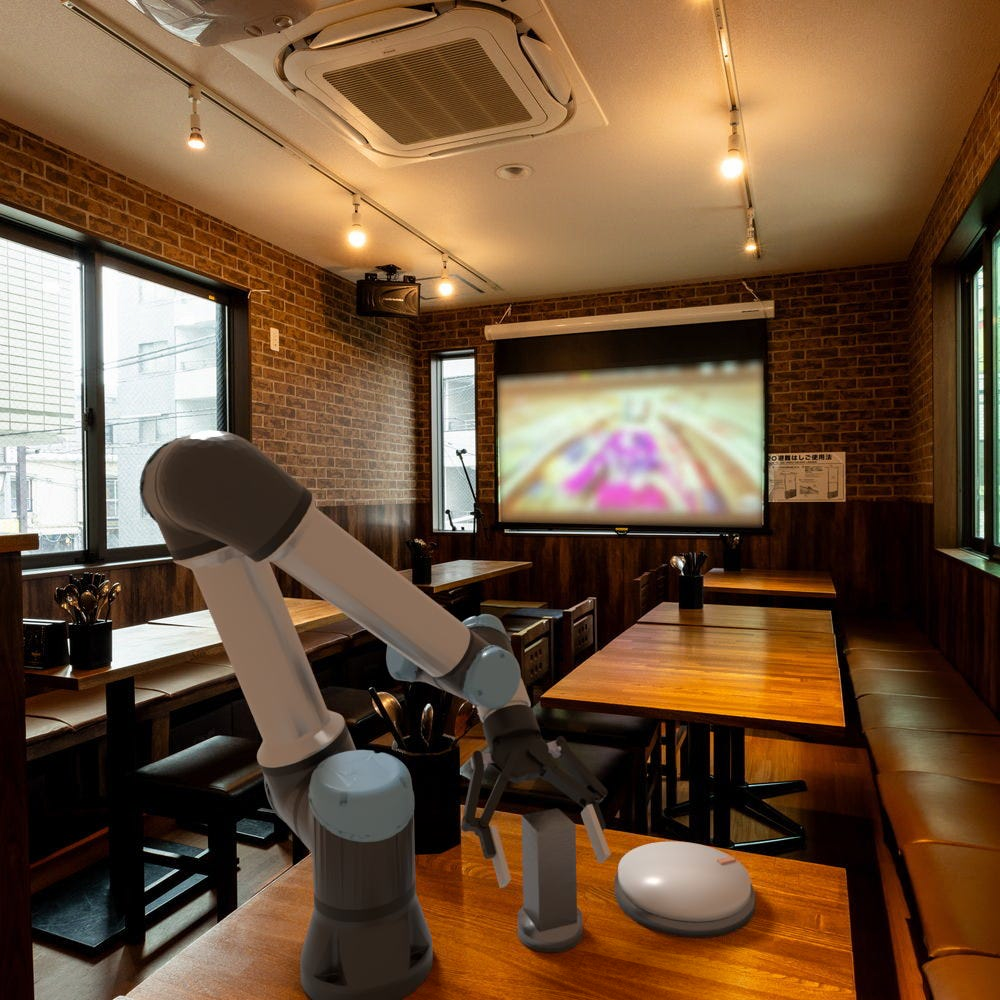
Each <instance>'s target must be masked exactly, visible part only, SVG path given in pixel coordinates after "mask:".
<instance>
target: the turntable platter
mask: <svg viewBox="0 0 1000 1000" xmlns="http://www.w3.org/2000/svg"><path fill="white" fill-rule="evenodd" d="M617 872H618V881H619V886H620V889H621V891H622V892H623V894H624V895H625V896H626V897H627V898H628V899H629V900H630V901H631V902H632V903H634V904H635V905H637V906H638V907H640V908H642V909H644V910H645V911H648V912H650V913H652V914H655V915H658V916H661V917H665V918H669V919H674V920H680V921H689V922H703V921H713V920H719V919H723V918H726V917H729V916H732V915H734V914H736V913H738V912H739V911H741V910H742V909H743V908H744V907H745V906H746V905H747V903H748V902H749V899H750V895H751V885H750V883H751V876H750V874H749V871H748V870H747V869H746V868H745V866H744V865H743V864H742V863H741V862H740V861H739V860H737V859H736V858H735V857H734V856H732V855H729V854H727V853H725V852H723V851H721V850H718V849H717V848H714V847H710V846H707V845H703V844H701V843H700V844H699V843H693V842H688V841H687V842H686V841H659V842H658V841H657V842H652V843H647V844H643V845H640V846H638V847H635V848H633V849H632V850H631V849H630V850H629V851H628V852H627V853H625V854H624V855H623V856H622V858H621V859H620V860H619V863H618V867H617Z"/></svg>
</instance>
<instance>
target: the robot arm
mask: <svg viewBox="0 0 1000 1000" xmlns="http://www.w3.org/2000/svg"><path fill="white" fill-rule="evenodd" d="M139 495H140V500H141V503H142V506H143V508H144V509H145V511H146V513H147V514H149V517H150V518H151V519H152V520H153V521H154V522H155V523H157V525H158V528H159V531H160V533H161V535H162V537H163V540H164V542H165V545H166V547H167V549H168V551H169V553H170V556H171V558H172V561H173V563H175V564H177V565H178V566H183V567H185V568H187V569H190V570H191V571H192V573H193V576H194V578H195V580H196V582H197V585H198V587H199V590H200V593H201V595H202V597H203V599H204V602H205V604H206V607H207V609H208V611H209V613H210V614H209V615H210V616H211V619H212V620H213V623H214V626H215V628H216V630H217V634H218V636H219V637H220V640H221V643H222V645H223V647H224V650H225V653H226V654H227V657H228V659H229V662H230V664H231V667H232V669H233V671H234V674H235V677H236V678H237V680H238V683H239V686H240V688H241V690H242V693H243V696H244V697H245V700H246V703H247V705H248V707H249V709H250V710H249V711H250V712H251V714H252V716H253V719H254V722H255V724H256V727H257V729H258V731H259V734H260V736H261V739H262V743H261V745H260V747H259V749H258V750H257V754H256V759H257V762H258V765H259V767H260V770H261V772H262V774H263V778H264V779H263V783H264V789H265V794H266V797H267V800H268V803H269V805H270V806H271V808H272V811H274V813H275V814H276V816H278V818H280V819H281V820H282V822H284V823H286V825H287V826H288V827H289V828H290V830H292V832H293V833H295V835H296V836H297V837H298V838H299V840H300V841H301V842H302V844H304V846H305V847H306V848H307V849H308V850H309V851H310V855H311V858H312V879H313V880H312V884H313V885H312V886H313V911H312V914H311V918H310V921H309V925H308V927H307V931H306V934H305V935H306V936H305V939H304V942H303V946H302V949H301V953H300V960H299V961H300V962H299V963H300V964H299V965H300V983H301V986H302V988H303V991H304V992H305V993H306V995H307V996H308V997H309V998H310V999H311V1000H402V999H403V998H405V997H407V996H409V995H411V993H413V992H415V991H416V990H417V989H418V988H419V987H420V986H421V985H422V984H423V983H424V982H425V981H426V979H427V977H429V975H430V972H431V970H432V967H433V963H434V962H433V961H434V954H433V951H434V949H433V948H434V947H433V939H432V938H433V937H432V933H431V931H430V928H429V925H428V923H427V920H426V917H425V915H424V912H423V909H422V907H421V906H422V905H421V904H420V901H419V898H418V896H417V890H416V889H417V888H416V857H415V856H416V854H415V853H416V852H415V818H414V817H415V816H414V815H415V812H414V811H415V793H414V790H413V785H412V784H413V783H412V777H411V774H410V772H409V769H408V768H407V766H406V765H405V764H404V763H403V762H402V761H401V760H399V758H397V757H395V756H393V755H391V754H389V753H386V752H379V753H377V752H376V751H374V750H367V749H356V746H355V744H354V741H353V738H352V736H351V733H350V731H349V729H348V727H347V723H346V721H345V719H344V717H343V715H341V714H340V713H338V712H335V711H332V710H330V709H328V708H327V705H326V704H325V701H324V698H323V695H322V694H321V690H320V688H319V686H318V682H317V680H316V678H315V674H314V673H313V670H312V667H311V666H310V662H309V660H308V657H307V655H306V651H305V650H304V647H303V644H302V642H301V639H300V637H299V634H298V632H297V629H296V627H295V624H294V622H293V619H292V617H291V615H290V611H289V609H288V606H287V604H286V602H285V599H284V597H283V594H282V591H281V589H280V586H279V583H278V582H277V578H276V576H275V573H274V570H273V569H272V565H271V563H272V564H273V565H275V566H277V567H278V568H279V569H281V571H284V572H285V573H287V574H288V575H289V576H290V577H292V578H293V579H295V580H296V581H297V582H299V583H300V584H302V585H303V586H305V587H306V588H307V589H309V590H311V591H312V592H313V593H315V594H316V595H317V596H319V597H320V598H322V599H323V600H324V601H326V602H327V603H329V604H330V605H331V606H333V607H334V608H335V609H337V610H339V611H340V612H341V613H343V614H344V615H345V616H347V617H348V618H349V619H351V620H352V621H354V622H355V623H357V624H358V625H359V626H361V627H362V628H364V629H365V630H367V631H368V632H369V633H371V634H372V635H374V636H375V637H376V638H378V639H379V640H380V641H382V642H383V643H385V644H386V645H387V646H386V653H385V655H386V656H385V660H386V667H387V669H388V672H389V674H390V676H391V677H392V678H393V679H394V680H397V681H405V682H409V683H414V682H422V683H426V684H429V685H431V686H433V687H435V688H437V689H440V690H442V691H444V692H446V693H450V694H452V695H454V696H456V697H459V698H461V699H463V700H465V701H467V702H469V703H470V704H471V705H473V706H474V707H476V710H477V712H478V713H477V714H478V717H479V719H480V721H481V722H482V726H481V727H482V731H483V734H484V737H485V740H486V743H487V747H488V750H489V753H482V752H481V751H480V750H474V752H473V754H472V755H471V757H470V760H469V763H468V764H469V769H470V779H469V785H468V790H467V794H466V800H465V805H464V810H463V814H462V820H461V824H460V828H461V830H462V831H463V832H464V833H468V832H474V835H475V836H477V837H478V839H479V843H480V847H481V851H482V854H483V857H484V858H485V860H488V859H489V860H490V859H491V860H492V863H493V868H494V871H495V875H496V878H497V882H498V885H499V886H498V887H499V889H503V888H506V887H507V886H508V885H509V883H510V882H511V880H512V877H511V872H510V869H509V866H508V863H507V858H506V856H505V852H504V848H503V844H502V841H501V838H500V833H499V830H498V827H497V824H494V825H490V822H491V820H492V818H493V816H494V814H495V812H496V809H497V806H498V804H499V802H500V800H501V797H502V796H503V793H504V791H505V789H506V786H507V784H508V782H509V781H510V782H513V784H514V785H515V784H520V783H521V782H522V783H523V782H524V781H535V780H536V779H537V778H540V780H542V781H544V782H548V783H550V784H551V785H552V786H554V787H555V788H556V789H557V790H559V791H560V792H562V793H563V794H565V796H567V797H568V798H569V799H571V800H572V801H573V802H575V803H576V804H577V805H579V806H580V807H581V808H583V810H582V811H581V812H580V815H581V819H582V821H583V824H584V827H585V829H586V832H587V836H588V838H589V841H590V844H591V847H592V850H593V852H594V855H595V858H596V861H597V864H602V863H604V862H605V861H606V860H607V859H608V858H609V857H610V856H611V852H610V849H609V846H608V844H607V840H606V838H605V834H604V833H603V832H604V831H605V829H606V826H607V825H606V821H605V819H604V815H603V814H602V811H601V807H600V805H599V804H601V802H602V801H603V800H604V799H605V798H606V797H607V795H608V793H609V791H608V788H606V787H605V786H604V785H603V783H602V782H601V781H600V780H599V779H598V778H597V777H596V776H595V775H594V774H593V773H592V771H591V770H590V769H589V768H588V767H587V766H586V765H585V764H584V763H583V762H582V761H581V759H579V757H578V756H577V755H576V754H575V753H574V752H573V750H571V748H570V746H569V744H568V741H567V740H566V738H565V736H562V735H559V736H557V738H556V740H553V741H550V742H546V741H545V740H544V739H543V738H542V734H541V729H540V727H539V724H538V721H537V718H536V715H535V712H534V710H533V708H532V707H531V706H532V705H531V700H530V697H529V695H528V692H527V688H526V686H525V684H524V680H523V679H522V676H521V672H522V671H521V668H520V664H519V662H518V660H517V658H516V657H515V653H514V651H513V648H512V645H511V640H510V637H509V636H508V634H507V631H506V629H505V627H504V625H503V622H502V621H501V619H499V618H498V617H497V616H495V615H492V614H489V613H488V614H487V613H484V614H483V613H482V614H480V615H478V616H476V615H474V616H470V617H468V618H466V619H464V620H463V621H461V620H459V618H457V617H455V615H453V614H451V613H450V612H449V611H448V610H446V609H445V608H444V607H442V605H440V604H439V603H438V602H436V601H435V600H433V599H432V598H431V597H430V596H428V595H427V594H426V593H424V591H422V590H421V589H420V588H418V587H417V586H416V585H415V584H413V582H411V581H410V580H408V579H407V578H406V577H405V576H403V575H402V574H400V573H399V572H398V571H397V570H396V569H394V568H393V567H392V566H391V565H389V564H388V563H387V562H386V561H384V560H383V559H381V558H380V557H379V556H378V555H376V554H375V553H374V552H373V551H372V550H370V549H369V548H368V547H366V546H365V545H364V544H363V543H362V542H360V541H359V540H357V539H356V538H355V537H354V536H352V535H351V534H350V533H348V532H347V531H346V530H345V529H343V528H342V527H341V526H340V525H338V524H337V523H336V522H335V521H333V520H332V519H331V518H329V516H328V515H326V514H324V512H322V511H320V510H319V508H317V506H316V499H315V498H316V497H315V495H314V493H313V492H312V491H310V489H308V488H306V487H305V486H304V485H303V484H302V483H301V482H299V481H298V480H297V479H296V478H295V477H294V476H292V475H291V474H290V473H288V471H286V470H285V469H284V468H283V467H281V466H280V465H279V464H278V463H277V462H276V461H274V460H273V459H272V458H271V457H269V456H268V455H267V454H266V453H265V452H263V451H262V450H261V449H260V448H259V447H257V446H256V445H254V444H253V443H251V442H250V441H249V440H247V439H245V438H244V437H241V436H239V435H237V434H234V433H231V432H229V431H222V430H203V431H202V430H201V431H197V432H193V433H191V434H189V435H186V436H181V437H176V438H174V439H172V440H169V441H167V442H165V443H163V444H162V445H161V446H160V447H158V448H157V449H156V450H154V451H153V453H152V454H151V455H150V456H149V458H148V459H147V461H146V462H145V464H144V466H143V469H142V471H141V475H140V480H139ZM548 754H551V755H552V758H554V759H557V761H558V762H559V764H560V765H561V766H562V767H563V769H565V770H566V772H568V774H567V773H566V772H565V771H563V770H562V769H561V768H559V767H558V766H557V763H556V762H554V761H553V760H552V759H550V758H549V757H548ZM488 764H489V765H490V766H492V767H493V769H495V770H496V771H497V772H499V773H500V774H499V775H498V777H497V779H496V782H495V784H494V786H493V788H492V791H491V793H490V795H489V798H488V799H487V802H486V804H485V806H484V809H483V810H482V812H481V815H480V817H476V813H477V810H478V809H477V808H478V804H479V799H480V798H479V797H480V795H481V794H480V792H481V787H482V782H483V776H484V772H485V771H486V769H487V768H488Z"/></svg>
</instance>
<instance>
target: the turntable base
mask: <svg viewBox="0 0 1000 1000" xmlns="http://www.w3.org/2000/svg"><path fill="white" fill-rule="evenodd" d="M750 885H751V895H750V899H749V902H748V903H747V905H746V906H745V907H744V908H743V909H742V910H741V911H739V912H738V913H736V914H734V915H732V916H729V917H726V918H723V919H719V920H713V921H703V922H689V921H680V920H674V919H669V918H665V917H661V916H658V915H655V914H652V913H650V912H648V911H645V910H644V909H642V908H640V907H638V906H637V905H635V904H634V903H632V902H631V901H630V900H629V899H628V898H627V897H626V896H625V895H624V894H623V892H622V891H621V889H620V886H619V881H618V871H616V874H615V875H614V895H615V900H616V902H617V904H618V906H619V908H620V909H621V910H622V911H623V913H625V914H626V916H628V917H629V918H630V919H632V920H633V921H635V922H636V923H638V924H640V925H641V926H643V927H645V928H648V929H650V930H652V931H655V932H658V933H661V934H665V935H668V936H673V937H679V938H687V939H705V938H709V939H710V938H715V937H721V936H726V935H729V934H731V933H735V932H737V931H739V930H741V929H742V928H743V927H745V926H746V925H747V924H748V923H749V922H750V921H752V918H753V917H754V914H755V911H756V909H755V908H756V902H755V901H756V898H755V897H756V895H755V894H756V893H755V888H754V887H753V885H752V882H750Z"/></svg>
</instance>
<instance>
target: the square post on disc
mask: <svg viewBox="0 0 1000 1000" xmlns="http://www.w3.org/2000/svg"><path fill="white" fill-rule="evenodd" d="M576 836H577V835H576V824H575V823H574V822H573V821H572V820H571V819H570V818H569V817H568V816H567V815H566V814H565V813H564V812H563V811H562V810H560V809H559V808H552V809H546V810H542V811H535V812H531V813H525V814H521V837H522V838H521V851H522V854H521V858H522V898H523V899H522V900H523V901H522V904H523V905H522V907H521V908H519V911H518V912H517V936H518V938H519V941H521V943H522V944H523V945H525V946H526V947H527V948H530V949H532V950H534V951H538V952H541V953H548V954H549V953H562V952H566V951H569V950H571V949H573V948H575V947H576V946H577V945H578V944H579V943H581V941H582V939H583V935H584V933H583V931H584V928H583V926H584V925H583V913H582V911H581V910H580V908H579V907H578V902H577V901H578V898H577V897H578V896H577V894H578V892H577V891H578V890H577V886H578V885H577V839H576V838H577V837H576Z"/></svg>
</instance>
